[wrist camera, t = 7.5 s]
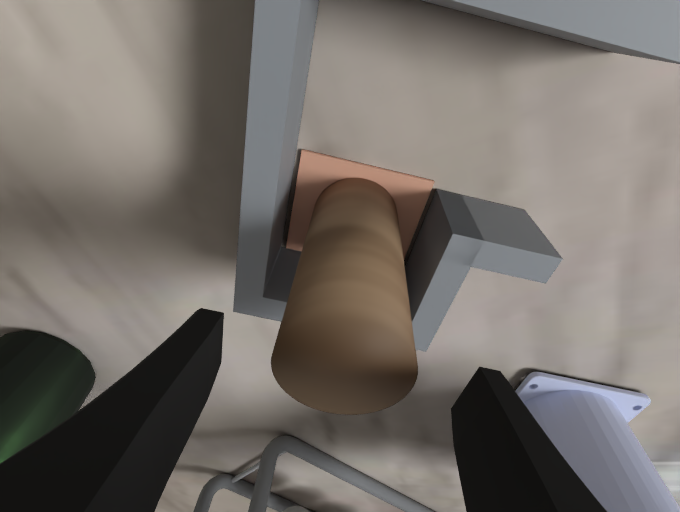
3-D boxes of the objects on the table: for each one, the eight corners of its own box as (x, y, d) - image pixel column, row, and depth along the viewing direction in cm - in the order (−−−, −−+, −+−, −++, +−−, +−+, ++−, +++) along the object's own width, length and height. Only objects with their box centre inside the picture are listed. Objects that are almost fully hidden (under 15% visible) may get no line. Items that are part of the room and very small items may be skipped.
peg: (383, 259, 19) (392, 425, 11) (307, 242, 18) (264, 400, 11) (408, 188, 16) (440, 336, 9) (321, 168, 16) (280, 303, 9)
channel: (469, 306, 20) (489, 364, 17) (256, 260, 19) (233, 311, 16) (636, 13, 12) (732, 14, 9) (293, -83, 12) (263, -119, 8)
